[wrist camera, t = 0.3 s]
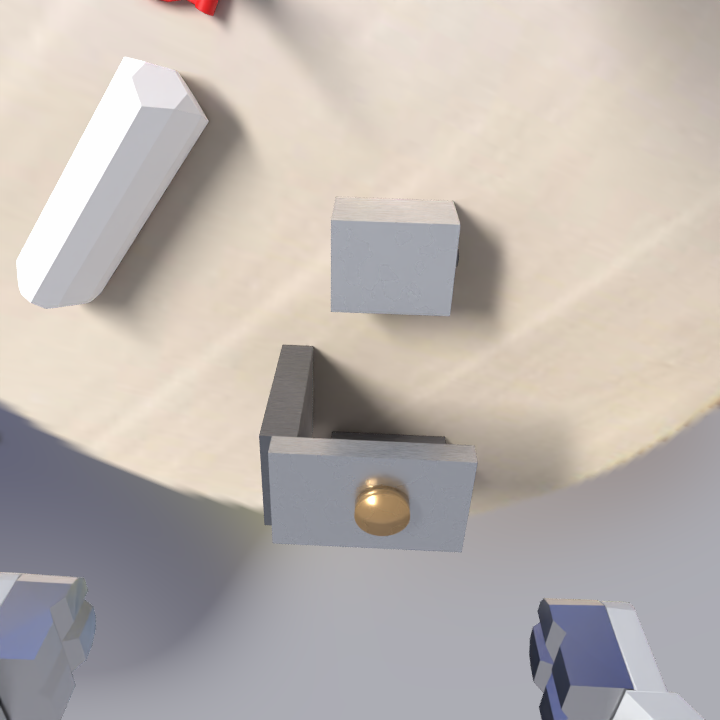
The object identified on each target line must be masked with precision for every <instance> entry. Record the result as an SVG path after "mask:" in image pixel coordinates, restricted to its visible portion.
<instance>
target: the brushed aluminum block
mask: <svg viewBox="0 0 720 720" xmlns="http://www.w3.org/2000/svg"><path fill="white" fill-rule="evenodd" d="M459 233H460V221H459V218H458V215H457V212H456V208H455V205H454V202H453V201H447V200H419V199H390V198H361V197H336V198H335V203H334V208H333V213H332V219H331V312H350V313H378V314H405V315H433V316H450V311H451V303H452V294H453V285H454V277H455V268H456V267H457V266H458V260H459V249H458V242H459Z"/></svg>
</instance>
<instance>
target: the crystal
mask: <svg viewBox="0 0 720 720" xmlns="http://www.w3.org/2000/svg"><path fill="white" fill-rule="evenodd" d="M144 106H145V107H144ZM155 107H156V108H155ZM166 108H168V109H166ZM175 109H176V110H175ZM188 112H189V113H188ZM208 122H209V121H208V119H207V117H206V116H205V114H204V112H203V111H202V109H201V107H200V105H199V104H198V102H197V100H196V99H195V97H194V95H193V94H192V92H191V91H190V89H189V87H188V86H187V84H186V83H185V81H184V80H183V78H182V77H181V76H180V74H179V73H178V72H177V71H175V70H173V69H169V68H166V67H162V66H159V65H155V64H152V63H148V62H145V61H141V60H136V59H132V58H128V57H124V58H123V60H122V62H121V64H120V66H119V68H118V70H117V72H116V73H115V75H114V77H113V79H112V81H111V83H110V85H109V87H108V89H107V90H106V92H105V94H104V96H103V98H102V100H101V102H100V104H99V106H98V107H97V109H96V111H95V113H94V115H93V117H92V119H91V121H90V123H89V124H88V126H87V128H86V130H85V132H84V134H83V136H82V138H81V140H80V142H79V143H78V145H77V147H76V149H75V151H74V153H73V155H72V157H71V159H70V160H69V162H68V164H67V166H66V168H65V170H64V172H63V174H62V176H61V177H60V179H59V181H58V183H57V185H56V187H55V189H54V191H53V193H52V194H51V196H50V198H49V200H48V202H47V204H46V206H45V208H44V210H43V211H42V213H41V215H40V217H39V219H38V221H37V223H36V225H35V227H34V228H33V230H32V232H31V234H30V236H29V238H28V240H27V242H26V244H25V246H24V247H23V249H22V251H21V253H20V255H19V257H18V259H17V261H16V262H17V274H18V285H19V288H20V292H21V294H22V295H23V296H24V297H25V298H26V299H27V300H28V301H29V302H30V303H33V304H35V305H38V306H40V307H43V308H45V309H48V308H57V307H64V306H71V305H78V304H85V303H90V302H91V301H92V300H93V299H95V298H96V297H97V296H98V295H99V294H101V292H102V291H103V289H104V287H105V286H106V284H107V283H108V281H109V279H110V278H111V276H112V275H113V273H114V271H115V270H116V268H117V267H118V265H119V264H120V262H121V260H122V259H123V257H124V256H125V254H126V252H127V251H128V249H129V248H130V246H131V244H132V243H133V241H134V240H135V238H136V236H137V235H138V233H139V232H140V230H141V228H142V227H143V225H144V224H145V222H146V221H147V219H148V217H149V216H150V214H151V213H152V211H153V209H154V208H155V206H156V205H157V203H158V201H159V200H160V198H161V197H162V195H163V193H164V192H165V190H166V189H167V187H168V185H169V184H170V182H171V181H172V179H173V178H174V176H175V174H176V173H177V171H178V170H179V168H180V166H181V165H182V163H183V162H184V160H185V158H186V157H187V155H188V154H189V152H190V150H191V149H192V147H193V146H194V144H195V143H196V141H197V139H198V138H199V136H200V135H201V133H202V131H203V130H204V128H205V127H206V125H207V123H208Z"/></svg>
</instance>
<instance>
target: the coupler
mask: <svg viewBox="0 0 720 720" xmlns="http://www.w3.org/2000/svg"><path fill="white" fill-rule="evenodd" d="M312 433H313V346H297V345H282V349H281V353H280V357H279V361H278V364H277V368H276V372H275V376H274V380H273V384H272V388H271V392H270V396H269V399H268V403H267V407H266V411H265V415H264V419H263V423H262V427H261V430H260V434H259V440H260V457H261V473H262V490H263V506H264V522H265V525H272V538H273V543H277V544H278V543H279V544H300V545H320V546H340V547H341V546H342V547H361V548H383V549H403V550H424V551H446V552H462V547H463V541H464V536H465V530H466V524H467V519H468V513H469V508H470V502H471V497H472V491H473V486H474V480H475V474H476V469H477V463H478V462H477V457H476V452H475V446H472V445H451V444H446V442H445V437H436V436H414V435H393V434H372V433H351V432H332V438H331V439H323V438H312Z"/></svg>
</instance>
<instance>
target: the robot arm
mask: <svg viewBox="0 0 720 720" xmlns="http://www.w3.org/2000/svg"><path fill="white" fill-rule="evenodd" d="M87 592H88V587H87V584H86V582H85V579H84V578H80V577H65V576H51V575H37V574H23V573H4V572H0V720H61V718H62V716H63V714H64V711H65V709H66V707H67V704H68V702H69V700H70V697H71V695H72V693H73V690H74V688H75V681H74V678H73V674H72V672H73V671H74V670H75V669H77V668H78V667H79V666H80V665H81V664H82V663H83V662H85V661H86V659H87V657H88V654H89V652H90V649H91V647H92V644H93V639H94V634H95V630H96V615H95V611H94V607H93V606H92V605H91V604H90V603H89V602H87V601H86V600H85V596H86V594H87ZM538 615H539V619H540V622H539V623H538V624H536V625H535V626H533V628H532V632H531V637H530V648H529V657H530V666H531V671H532V676H533V681H534V683H535V684H536V685H537V686H538V687H539V688H540V690H541V691H542V692H543V696H542V699H541V703H540V706H539V710H540V714H541V719H542V720H705V719H704V718H703V717H702V716H701V715H700V714H699V713H698V712H697V711H696V710H695V709H693V708H692V707H691V706H690V705H689V704H688V703H687V702H686V701H685V700H684V699H683V698H682V697H681V696H680V695H679V694H678V693H675V692H668V690H667V688H666V685H665V683H664V680H663V678H662V675H661V673H660V671H659V668H658V665H657V663H656V660H655V658H654V656H653V653H652V651H651V648H650V646H649V643H648V641H647V638H646V636H645V633H644V631H643V628H642V626H641V624H640V621H639V618H638V616H637V613H636V611H635V608H634V607H633V606H632V605H631V604H630V603H629V602H613V601H598V600H581V599H549V598H544V599H543V600H542V601H541V602H540V605H539V608H538Z"/></svg>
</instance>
